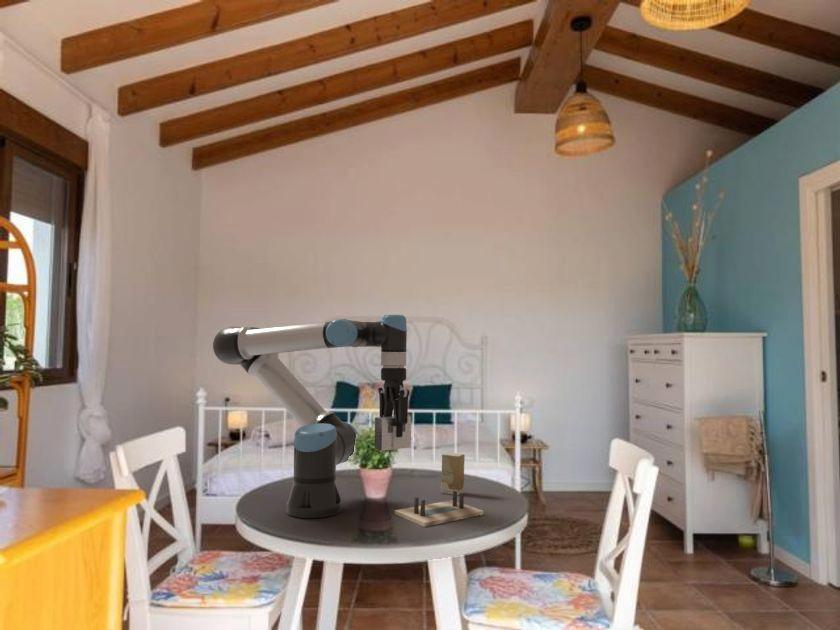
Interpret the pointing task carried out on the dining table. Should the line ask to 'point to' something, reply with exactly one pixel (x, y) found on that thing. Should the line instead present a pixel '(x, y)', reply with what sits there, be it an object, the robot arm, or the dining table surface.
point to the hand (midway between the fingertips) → (393, 446)
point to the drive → (390, 433)
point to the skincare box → (452, 473)
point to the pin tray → (439, 511)
